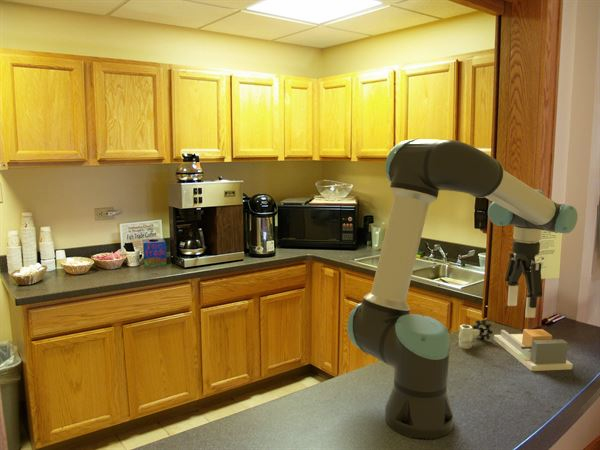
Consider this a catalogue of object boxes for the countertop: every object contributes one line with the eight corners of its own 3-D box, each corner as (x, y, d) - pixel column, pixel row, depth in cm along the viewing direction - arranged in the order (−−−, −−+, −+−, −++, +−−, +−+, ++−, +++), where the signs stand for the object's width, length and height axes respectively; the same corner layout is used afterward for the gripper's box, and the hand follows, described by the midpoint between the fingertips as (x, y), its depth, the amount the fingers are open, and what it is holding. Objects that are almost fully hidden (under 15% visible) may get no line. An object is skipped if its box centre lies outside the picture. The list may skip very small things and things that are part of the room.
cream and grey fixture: (531, 370, 138) (533, 345, 137) (493, 339, 160) (495, 317, 159) (572, 369, 139) (574, 343, 138) (529, 338, 161) (531, 315, 160)
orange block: (521, 357, 143) (522, 337, 142) (511, 349, 149) (513, 330, 147) (561, 355, 144) (562, 335, 143) (550, 347, 150) (552, 328, 149)
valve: (470, 352, 151) (492, 342, 158) (471, 331, 150) (494, 322, 157) (451, 345, 156) (474, 335, 163) (452, 324, 155) (475, 316, 162)
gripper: (560, 248, 140) (553, 324, 144) (519, 233, 162) (513, 299, 166) (535, 249, 139) (528, 324, 143) (496, 233, 161) (492, 299, 165)
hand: (520, 311), depth 155 cm, fingers open, 10 cm apart
